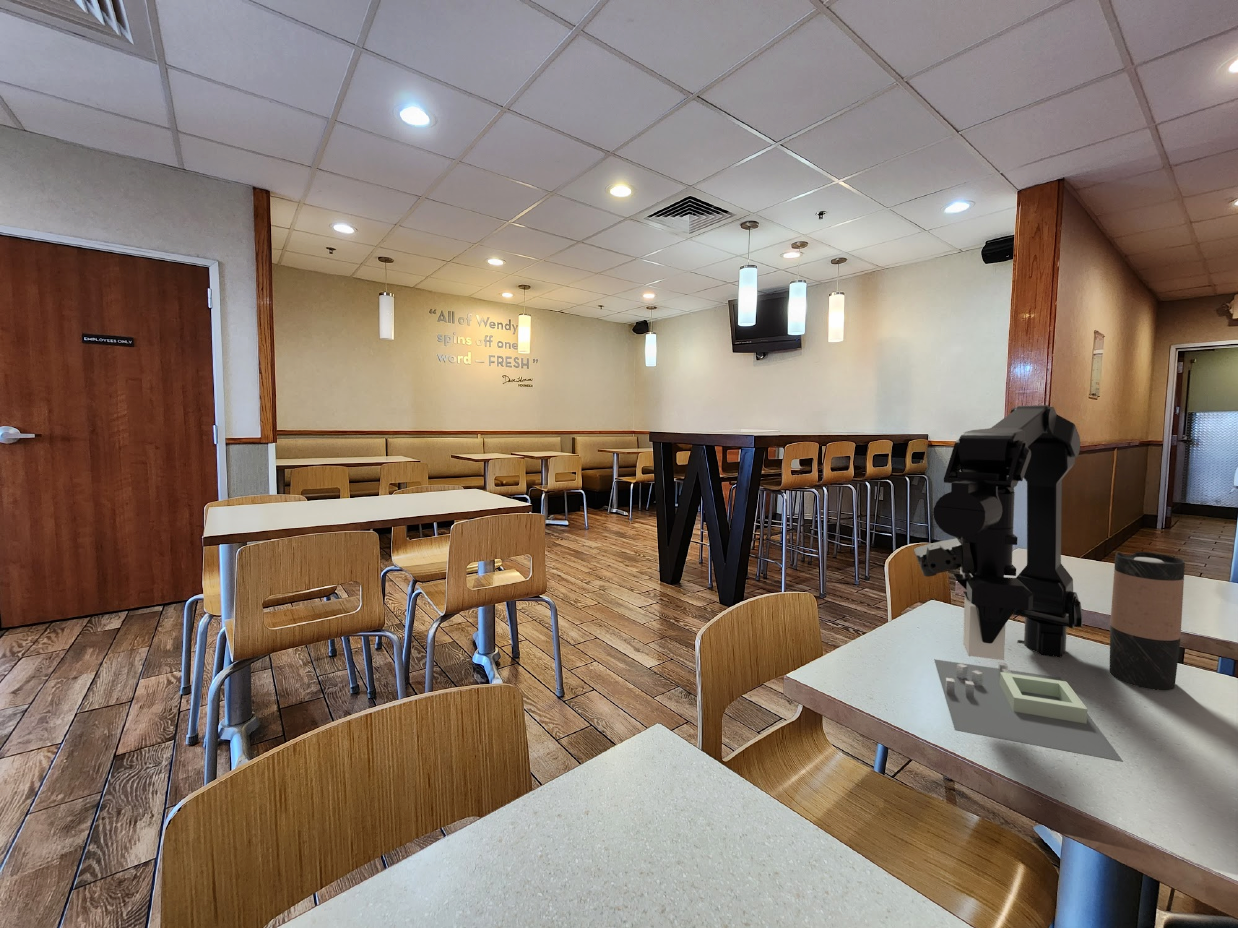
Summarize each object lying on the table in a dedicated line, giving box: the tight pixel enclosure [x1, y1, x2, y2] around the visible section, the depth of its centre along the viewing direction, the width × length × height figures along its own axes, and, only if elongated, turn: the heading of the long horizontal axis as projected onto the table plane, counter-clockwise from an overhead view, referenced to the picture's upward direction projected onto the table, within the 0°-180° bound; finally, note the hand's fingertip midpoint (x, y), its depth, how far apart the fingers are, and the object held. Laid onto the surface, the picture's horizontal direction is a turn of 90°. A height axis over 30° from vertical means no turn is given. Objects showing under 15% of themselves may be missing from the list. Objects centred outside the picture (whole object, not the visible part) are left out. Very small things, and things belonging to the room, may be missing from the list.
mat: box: [934, 658, 1124, 762], centre depth 77 cm, size 22×17×1 cm
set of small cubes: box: [946, 661, 1012, 698], centre depth 82 cm, size 10×9×2 cm
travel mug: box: [1109, 551, 1186, 692], centre depth 82 cm, size 8×8×20 cm
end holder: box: [1000, 672, 1088, 724], centre depth 76 cm, size 8×8×2 cm
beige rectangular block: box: [962, 595, 1006, 661], centre depth 74 cm, size 4×4×7 cm
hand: (983, 636), depth 74 cm, fingers closed on beige rectangular block, 4 cm apart
